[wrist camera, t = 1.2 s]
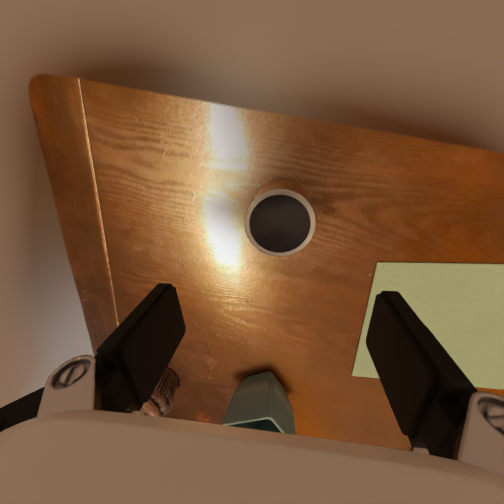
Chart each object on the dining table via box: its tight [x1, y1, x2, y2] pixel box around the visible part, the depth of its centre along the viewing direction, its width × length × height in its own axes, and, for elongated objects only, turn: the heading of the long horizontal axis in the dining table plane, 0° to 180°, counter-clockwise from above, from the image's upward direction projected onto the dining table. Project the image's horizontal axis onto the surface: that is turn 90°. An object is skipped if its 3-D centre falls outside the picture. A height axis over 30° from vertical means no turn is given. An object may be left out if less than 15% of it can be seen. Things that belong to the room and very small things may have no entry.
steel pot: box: [244, 179, 316, 256], centre depth 23 cm, size 7×7×6 cm
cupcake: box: [125, 367, 178, 417], centre depth 40 cm, size 10×10×10 cm
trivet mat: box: [352, 262, 504, 390], centre depth 30 cm, size 22×22×1 cm
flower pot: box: [223, 371, 296, 435], centre depth 37 cm, size 9×9×9 cm
